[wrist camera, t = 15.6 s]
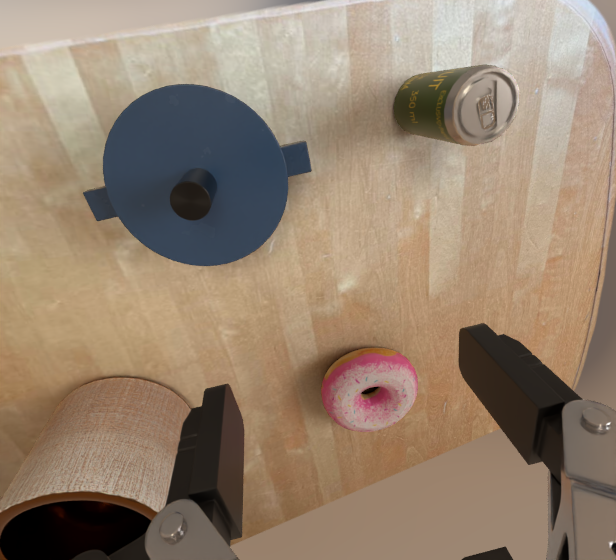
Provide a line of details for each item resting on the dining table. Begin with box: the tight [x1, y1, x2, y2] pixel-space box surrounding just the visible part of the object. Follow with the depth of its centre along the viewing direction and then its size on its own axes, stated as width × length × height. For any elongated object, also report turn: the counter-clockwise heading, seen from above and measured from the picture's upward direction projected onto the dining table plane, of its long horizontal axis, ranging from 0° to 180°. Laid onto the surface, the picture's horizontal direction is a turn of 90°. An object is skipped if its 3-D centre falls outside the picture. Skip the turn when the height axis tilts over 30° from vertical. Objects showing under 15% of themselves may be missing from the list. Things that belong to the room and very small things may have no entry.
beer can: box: [394, 65, 520, 146], centre depth 31 cm, size 5×5×12 cm
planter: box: [0, 377, 191, 560], centre depth 42 cm, size 18×18×16 cm
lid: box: [103, 84, 288, 266], centre depth 26 cm, size 14×14×6 cm
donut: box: [321, 348, 418, 432], centre depth 49 cm, size 14×13×5 cm
